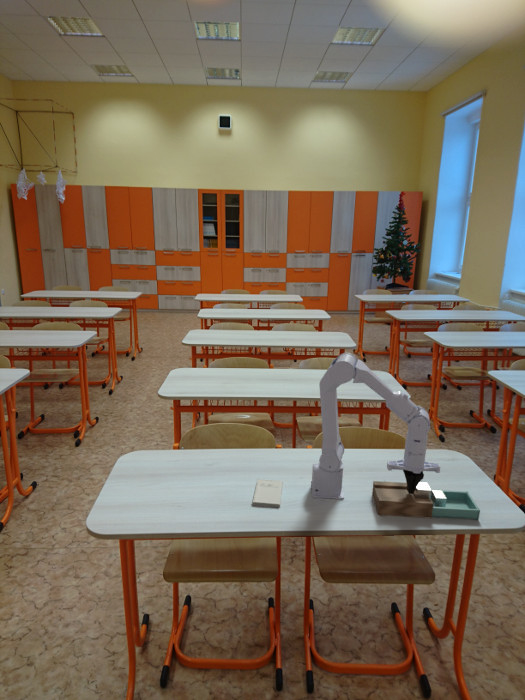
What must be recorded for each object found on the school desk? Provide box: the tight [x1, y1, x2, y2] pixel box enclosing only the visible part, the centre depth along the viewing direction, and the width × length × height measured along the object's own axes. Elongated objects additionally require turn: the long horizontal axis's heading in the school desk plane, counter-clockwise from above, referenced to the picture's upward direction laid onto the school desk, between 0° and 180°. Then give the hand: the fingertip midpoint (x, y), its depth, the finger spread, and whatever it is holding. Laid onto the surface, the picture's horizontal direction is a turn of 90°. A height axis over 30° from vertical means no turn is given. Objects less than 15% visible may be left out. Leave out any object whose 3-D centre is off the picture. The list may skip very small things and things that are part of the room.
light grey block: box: [431, 489, 447, 507], centre depth 129 cm, size 4×4×3 cm
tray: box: [430, 489, 481, 520], centre depth 129 cm, size 13×9×3 cm
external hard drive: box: [252, 479, 284, 508], centre depth 135 cm, size 2×8×12 cm
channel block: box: [371, 480, 433, 519], centre depth 130 cm, size 15×10×5 cm, turn 86°
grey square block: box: [414, 481, 432, 499], centre depth 129 cm, size 4×4×3 cm
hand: (410, 491), depth 129 cm, fingers closed
